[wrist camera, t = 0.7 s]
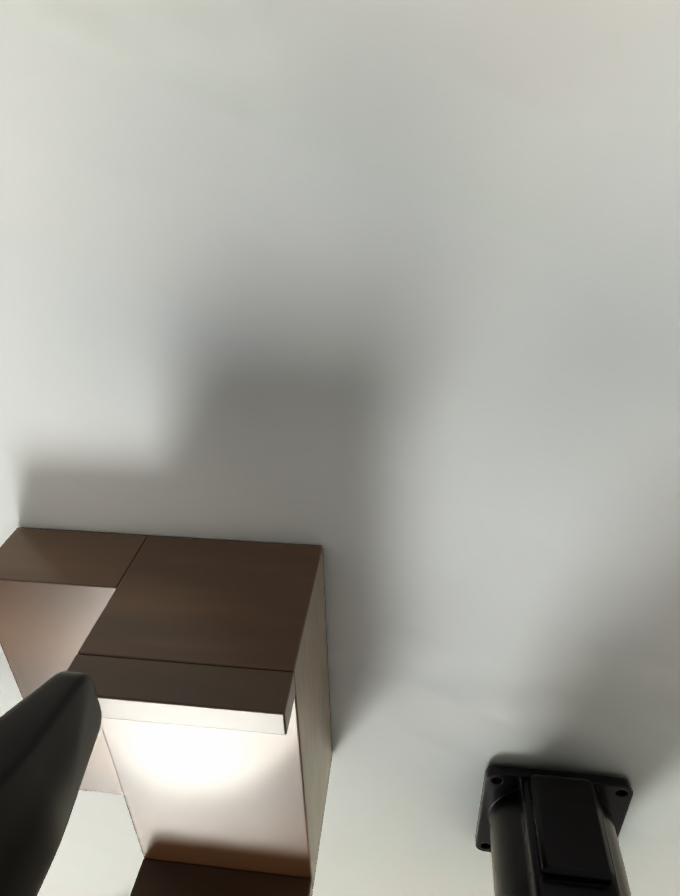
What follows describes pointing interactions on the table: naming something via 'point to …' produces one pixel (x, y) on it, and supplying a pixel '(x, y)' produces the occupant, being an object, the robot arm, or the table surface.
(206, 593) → the step shelf
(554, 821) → the robot arm
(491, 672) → the table surface
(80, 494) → the table surface
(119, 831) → the table surface
